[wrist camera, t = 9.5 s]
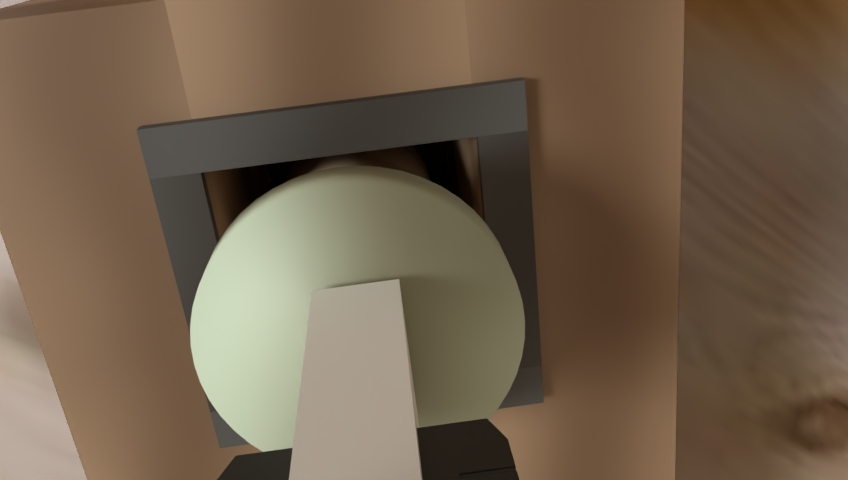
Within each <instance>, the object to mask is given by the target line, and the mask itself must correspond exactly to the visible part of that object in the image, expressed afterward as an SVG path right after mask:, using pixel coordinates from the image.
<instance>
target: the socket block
mask: <svg viewBox="0 0 848 480" xmlns="http://www.w3.org/2000/svg"><path fill="white" fill-rule="evenodd" d="M684 14H685V0H30V1H26V2H22V3H19V4H15V5H12V6H8V7H4V8H1V9H0V231H1V234H2V237H3V240H4V243H5V246H6V248H7V251H8V254H9V257H10V260H11V263H12V266H13V268H14V271H15V274H16V277H17V280H18V283H19V285H20V288H21V291H22V294H23V297H24V300H25V303H26V305H27V308H28V311H29V314H30V317H31V320H32V323H33V325H34V328H35V331H36V334H37V337H38V340H39V343H40V345H41V348H42V351H43V354H44V357H45V360H46V362H47V365H48V368H49V371H50V374H51V377H52V380H53V382H54V385H55V388H56V391H57V394H58V397H59V400H60V402H61V405H62V408H63V411H64V414H65V417H66V420H67V422H68V425H69V428H70V431H71V434H72V437H73V440H74V442H75V445H76V448H77V451H78V454H79V457H80V459H81V462H82V465H83V468H84V471H85V474H86V477H87V479H88V480H217V479H218V478H219V476H220V475H221V474H222V472H223V471H224V470H225V469H226V467H227V466H228V465H229V464H230V462H231V461H232V460H233V458H234V457H235V456H237V455H244V454H251V453H259V452H262V451H261V450H259V449H258V448H256V447H255V446H253V445H251V444H250V443H248V442H247V441H246V440H245V439H244V438H242V437H241V436H240V435H239V434H238V433H236V432H235V431H234V430H233V429H232V428H231V427H230V426H229V425H228V424H227V423H226V421H225V420H224V419H223V418H222V417H221V416H220V415H219V413H218V412H217V410H216V409H215V408H214V406H213V405H212V403H211V402H210V401H209V399H208V397H207V395H206V393H205V391H204V389H203V387H202V385H201V383H200V380H199V378H198V375H197V372H196V369H195V366H194V361H193V356H192V351H191V341H190V323H191V315H192V307H193V303H194V300H195V296H196V292H197V289H198V286H199V284H200V281H201V279H202V276H203V274H204V272H205V269H206V267H207V264H208V262H209V260H210V258H211V255H212V253H213V251H214V249H215V247H216V245H217V243H218V242H219V240H220V239H221V237H222V235H223V234H224V232H225V231H226V229H227V228H228V227H229V226H230V225H231V223H232V222H233V221H234V220H235V219H236V218H237V216H238V215H239V214H240V213H241V212H242V211H243V210H245V209H246V208H247V207H248V206H249V205H250V204H252V203H253V202H254V201H255V200H256V199H258V198H259V197H261V196H262V195H264V194H265V193H267V192H268V191H270V190H271V189H272V187H271V181H270V176H269V171H268V166H267V164H272V163H280V162H287V161H295V160H303V159H310V158H318V157H326V156H333V155H341V154H349V153H357V152H364V151H372V150H380V149H387V148H395V147H403V146H411V145H418V144H426V143H434V142H441V141H446V150H447V160H448V170H449V180H450V189H451V193H453V194H454V195H456V196H457V197H459V198H460V199H461V200H463V201H464V202H465V203H466V204H467V205H468V206H470V207H471V208H472V209H473V210H474V211H475V212H476V213H477V214H478V215H479V216H480V217H481V218H482V220H483V221H484V222H485V223H486V224H487V225H488V227H489V228H490V230H491V231H492V233H493V234H494V236H495V237H496V239H497V240H498V242H499V244H500V246H501V248H502V250H503V252H504V254H505V256H506V259H507V261H508V263H509V265H510V268H511V270H512V272H513V275H514V277H515V279H516V282H517V285H518V288H519V291H520V295H521V298H522V302H523V309H524V316H525V340H524V347H523V353H522V358H521V362H520V365H519V368H518V371H517V375H516V377H515V379H514V381H513V383H512V386H511V388H510V390H509V392H508V393H507V395H506V397H505V398H504V400H503V401H502V403H501V404H500V406H499V408H498V409H497V410H496V411H495V412H494V414H493V415H492V416H491V417H490V418H489V421H490V422H491V423H492V424H493V425H494V426H495V427H496V428H497V429H498V430H499V431H500V432H501V433H502V434H503V435H504V436H505V437H506V438H507V439H508V441H509V445H510V448H511V452H512V455H513V459H514V462H515V466H516V471H517V473H518V476H519V480H675V453H676V405H677V356H678V307H679V258H680V209H681V160H682V111H683V63H684Z"/></svg>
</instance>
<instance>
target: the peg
mask: <svg viewBox="0 0 848 480" xmlns="http://www.w3.org/2000/svg"><path fill="white" fill-rule="evenodd" d="M395 279H399V282H400V290H401V297H402V304H403V312H404V319H405V326H406V334H407V341H408V348H409V355H410V363H411V370H412V377H413V385H414V392H415V399H416V407H417V415H418V423H419V428H420V427H428V426H435V425H442V424H449V423H456V422H464V421H471V420H478V419H485V418H487V419H488V420H489V418H490V417H491V416H492V415H493V414H494V412H495V411H496V410H497V409H498V408H499V406H500V404H501V403H502V401H503V400H504V398H505V397H506V395H507V393H508V392H509V390H510V388H511V386H512V383H513V381H514V379H515V377H516V375H517V371H518V368H519V365H520V362H521V358H522V353H523V347H524V340H525V316H524V309H523V302H522V298H521V295H520V291H519V288H518V285H517V282H516V279H515V277H514V275H513V272H512V270H511V268H510V265H509V263H508V261H507V259H506V256H505V254H504V252H503V250H502V248H501V246H500V244H499V242H498V240H497V239H496V237H495V236H494V234H493V233H492V231H491V230H490V228H489V227H488V225H487V224H486V223H485V222H484V221H483V220H482V218H481V217H480V216H479V215H478V214H477V213H476V212H475V211H474V210H473V209H472V208H471V207H470V206H468V205H467V204H466V203H465V202H464V201H463V200H461V199H460V198H459V197H457V196H456V195H454V194H453V193H451V192H450V191H448V190H446V189H445V188H443V187H442V186H440V185H437V184H435V183H433V182H431V180H430V176H429V173H428V170H427V167H426V165H425V163H424V161H423V159H422V158H421V156H420V155H419V153H418V152H417V150H416V149H415V148H414V147H413V146H412V145H411V146H403V147H395V148H387V149H380V150H372V151H364V152H357V153H349V154H341V155H333V156H326V157H318V158H310V159H303V160H295V161H292V163H291V165H290V167H289V170H288V173H287V176H286V180H285V183H283V184H281V185H279V186H277V187H275V188H273V189H271V190H270V191H268V192H267V193H265V194H264V195H262V196H261V197H259V198H258V199H256V200H255V201H254V202H253V203H252V204H250V205H249V206H248V207H247V208H246V209H245V210H243V211H242V212H241V213H240V214H239V215H238V216H237V218H236V219H235V220H234V221H233V222H232V223H231V225H230V226H229V227H228V228H227V229H226V231H225V232H224V234H223V235H222V237H221V239H220V240H219V242H218V243H217V245H216V247H215V249H214V251H213V253H212V255H211V258H210V260H209V262H208V264H207V267H206V269H205V272H204V274H203V276H202V279H201V281H200V284H199V286H198V289H197V292H196V296H195V300H194V303H193V307H192V315H191V323H190V341H191V351H192V356H193V361H194V366H195V369H196V372H197V375H198V378H199V380H200V383H201V385H202V387H203V389H204V391H205V393H206V395H207V397H208V399H209V401H210V402H211V403H212V405H213V406H214V408H215V409H216V410H217V412H218V413H219V415H220V416H221V417H222V418H223V419H224V420H225V421H226V423H227V424H228V425H229V426H230V427H231V428H232V429H233V430H234V431H235V432H236V433H238V434H239V435H240V436H241V437H242V438H244V439H245V440H246V441H247V442H248V443H250V444H251V445H253V446H255V447H256V448H258V449H259V450H261V451H262V452H266V451H273V450H280V449H287V448H293V441H294V433H295V425H296V417H297V409H298V401H299V392H300V384H301V376H302V368H303V360H304V352H305V344H306V335H307V327H308V319H309V311H310V303H311V295H312V291H313V290H321V289H328V288H335V287H343V286H350V285H358V284H365V283H373V282H380V281H388V280H395Z"/></svg>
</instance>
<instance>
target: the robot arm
mask: <svg viewBox="0 0 848 480" xmlns="http://www.w3.org/2000/svg"><path fill="white" fill-rule="evenodd" d="M217 480H519V476H518V473H517V471H516V466H515V462H514V459H513V455H512V452H511V448H510V445H509V441H508V439H507V438H506V437H505V436H504V435H503V434H502V433H501V432H500V431H499V430H498V429H497V428H496V427H495V426H494V425H493V424H492V423H491V422H490V421H489V420H488V419H487V418H485V419H478V420H471V421H464V422H456V423H449V424H442V425H435V426H428V427H420V428H419V423H418V415H417V407H416V399H415V392H414V385H413V377H412V370H411V363H410V355H409V348H408V341H407V334H406V326H405V319H404V312H403V304H402V297H401V290H400V282H399V279H395V280H388V281H380V282H373V283H365V284H358V285H350V286H343V287H335V288H328V289H321V290H313V291H312V295H311V303H310V311H309V319H308V327H307V335H306V344H305V352H304V360H303V368H302V376H301V384H300V392H299V401H298V409H297V417H296V425H295V433H294V441H293V448H287V449H280V450H273V451H266V452H259V453H251V454H244V455H237V456H235V457H234V458H233V460H232V461H231V462H230V464H229V465H228V466H227V467H226V469H225V470H224V471H223V472H222V474H221V475H220V476H219V478H218V479H217Z"/></svg>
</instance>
